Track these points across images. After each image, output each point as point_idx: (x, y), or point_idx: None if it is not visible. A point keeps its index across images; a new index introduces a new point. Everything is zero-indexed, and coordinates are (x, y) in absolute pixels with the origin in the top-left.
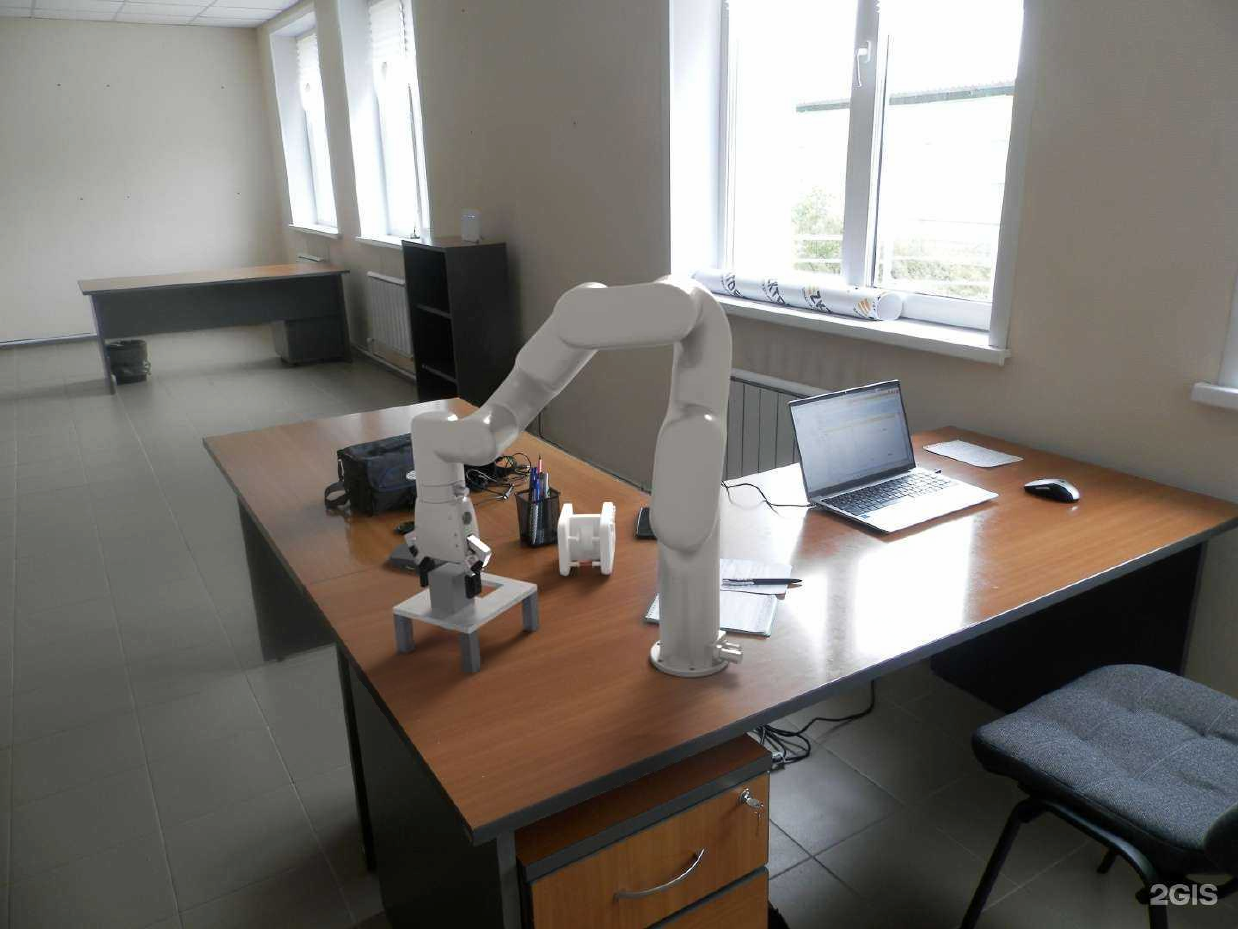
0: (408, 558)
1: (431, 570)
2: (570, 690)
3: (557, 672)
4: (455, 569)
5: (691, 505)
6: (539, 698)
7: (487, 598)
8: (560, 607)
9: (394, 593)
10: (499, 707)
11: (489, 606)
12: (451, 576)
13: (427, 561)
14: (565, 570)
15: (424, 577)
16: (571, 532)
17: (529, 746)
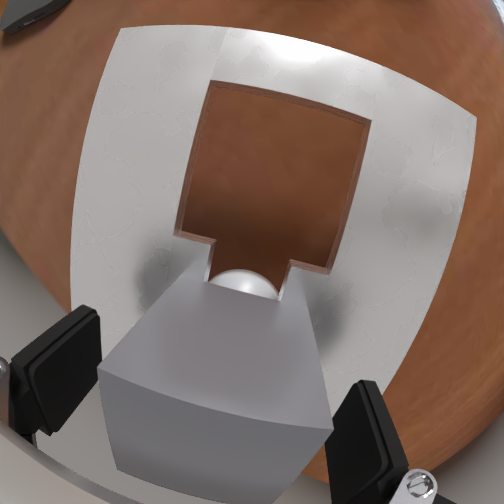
0: (18, 17)
1: (66, 369)
2: (477, 353)
3: (466, 316)
4: (228, 461)
5: None
6: (441, 384)
7: (353, 274)
8: (401, 39)
9: (24, 96)
10: (391, 417)
11: (379, 334)
12: (256, 502)
13: (33, 409)
14: None
15: (81, 393)
16: None
17: (426, 445)
